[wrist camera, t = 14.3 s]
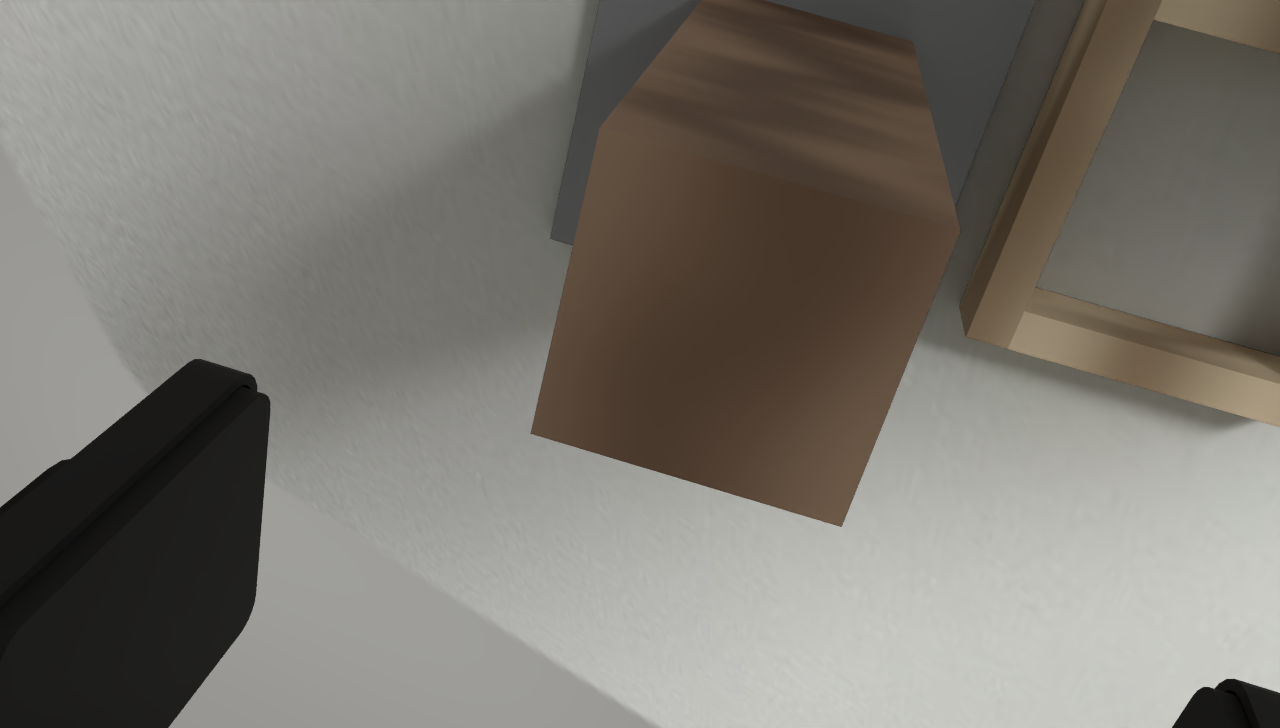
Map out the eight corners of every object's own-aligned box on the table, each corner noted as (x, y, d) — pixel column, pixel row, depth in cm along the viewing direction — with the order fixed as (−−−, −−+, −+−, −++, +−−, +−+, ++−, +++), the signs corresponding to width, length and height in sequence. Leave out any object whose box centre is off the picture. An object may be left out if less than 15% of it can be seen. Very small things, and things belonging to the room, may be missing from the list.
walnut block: (912, 41, 30) (960, 230, 16) (846, 230, 32) (841, 526, 19) (712, -15, 30) (600, 127, 17) (663, 177, 32) (530, 433, 19)
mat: (1046, -41, 29) (1050, -38, 28) (902, 331, 34) (902, 340, 33) (635, -152, 29) (631, -151, 29) (554, 232, 34) (550, 238, 34)
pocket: (1516, 55, 28) (1565, 73, 26) (1304, 404, 33) (1332, 442, 31) (1107, -55, 28) (1126, -45, 26) (959, 306, 33) (965, 337, 31)
